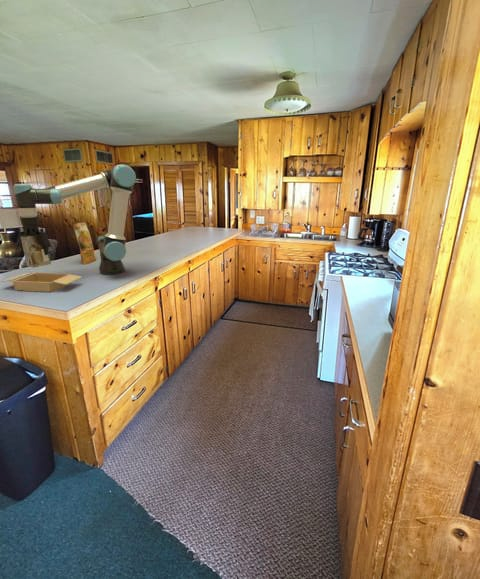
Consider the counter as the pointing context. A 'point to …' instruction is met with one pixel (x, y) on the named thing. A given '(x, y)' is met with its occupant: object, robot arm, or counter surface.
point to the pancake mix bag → (84, 242)
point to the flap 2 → (67, 279)
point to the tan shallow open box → (39, 282)
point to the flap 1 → (16, 277)
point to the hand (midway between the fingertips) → (38, 260)
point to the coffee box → (33, 251)
